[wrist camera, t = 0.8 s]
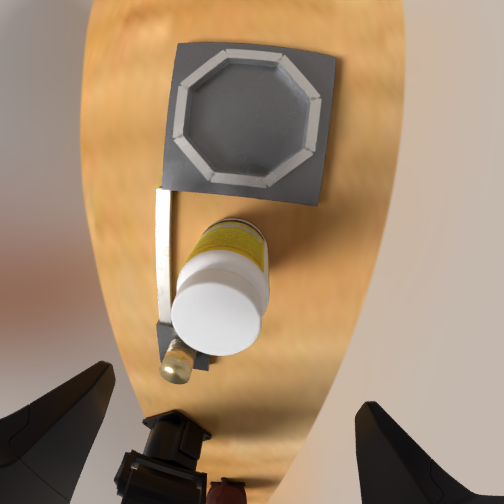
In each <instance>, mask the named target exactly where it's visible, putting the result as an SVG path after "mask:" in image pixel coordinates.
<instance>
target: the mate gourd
mask: <svg viewBox="0 0 504 504" xmlns="http://www.w3.org/2000/svg"><path fill="white" fill-rule="evenodd" d="M221 480H222V482H211V483H210V484H211V485H212V486H211V488H210V490H209V492H208V494H207V497H206V504H247V499H246V492H245V489H244V486H246V485H245V483H233V482H229V481H228V480H227V479H226V478H221Z"/></svg>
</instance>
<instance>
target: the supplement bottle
mask: <svg viewBox="0 0 504 504" xmlns="http://www.w3.org/2000/svg"><path fill="white" fill-rule="evenodd" d="M269 293H270V288H269V263H268V247H267V243H266V240H265V238H264V236H263V235H262V233H261V232H260V231H259V230H258V229H257V228H256V227H255V226H254V225H253V224H251V223H249V222H247V221H245V220H242V219H236V218H229V219H223V220H220V221H218V222H216V223H214V224H213V225H211V226H210V227H209V228H208V229H207V230H206V231H205V232H204V233H203V235H202V237H201V239H200V240H199V242H198V243H197V245H196V247H195V248H194V250H193V251H192V253H191V255H190V256H189V258H188V260H187V261H186V263H185V264H184V266H183V268H182V270H181V272H180V274H179V277H178V281H177V294H176V297H175V299H174V302H173V305H172V309H171V320H172V324H173V326H174V329H175V331H176V332H177V334H178V336H179V337H180V338H181V339H182V340H183V341H184V342H185V343H186V344H188V345H189V346H190V347H192V348H194V349H196V350H198V351H200V352H202V353H206V354H210V355H217V356H226V355H232V354H236V353H239V352H241V351H243V350H245V349H246V348H248V347H249V346H250V345H251V344H253V343H254V341H255V340H256V338H257V337H258V335H259V333H260V329H261V322H262V316H263V314H264V313H265V311H266V308H267V306H268V302H269Z"/></svg>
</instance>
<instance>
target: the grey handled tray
mask: <svg viewBox="0 0 504 504" xmlns="http://www.w3.org/2000/svg"><path fill="white" fill-rule="evenodd" d="M335 67H336V57H333V56H329V55H324V54H319V53H314V52H309V51H303V50H297V49H291V48H284V47H276V46H267V45H256V44H243V43H214V42H204V43H178V45H177V51H176V57H175V63H174V69H173V76H172V82H171V90H170V97H169V105H168V114H167V124H166V134H165V146H164V160H163V177H162V187H159V188H157V190H156V268H157V290H158V306H159V321H158V323H157V325H156V326H157V336H158V345H159V353H160V361H161V363H162V364H161V366H160V374H161V376H162V377H163V378H164V379H165V380H167V381H169V382H171V383H174V384H185V383H187V382H188V381H189V379H190V375H191V372H192V368H193V369H199V370H205V371H209V366H210V354H206V353H202V352H200V351H198V350H196V349H194V348H192V347H190V346H189V345H188V344H186V343H185V342H184V341H183V340H182V339H181V338H180V337H179V336H178V334H177V332H176V331H175V329H174V326H173V324H172V320H171V309H172V281H171V226H172V195H173V191H186V192H198V193H209V194H219V195H229V196H239V197H248V198H256V199H265V200H273V201H281V202H288V203H295V204H303V205H310V206H316V207H317V206H318V200H319V194H320V188H321V182H322V175H323V169H324V162H325V155H326V148H327V140H328V133H329V125H330V116H331V108H332V98H333V89H334V78H335Z"/></svg>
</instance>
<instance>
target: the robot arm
mask: <svg viewBox="0 0 504 504" xmlns="http://www.w3.org/2000/svg"><path fill="white" fill-rule="evenodd" d="M114 386H115V374H114V370H113V366H112V364H111V363H108V362H105V361H99V362H98V363H96V364H94V365H93V366H91V367H90V368H88V369H86V370H85V371H83V372H81V373H80V374H78V375H76V376H75V377H73V378H71V379H70V380H68V381H67V382H65V383H63V384H62V385H60V386H58V387H57V388H55V389H53V390H52V391H50V392H48V393H47V394H45V395H43V396H42V397H40V398H38V399H37V400H35V401H33V402H32V403H30V405H27V406H25V407H23V408H21V409H20V410H18V411H16V412H14V413H12V414H10V415H8V416H6V417H4V418H2V419H0V504H70V501H71V498H72V495H73V493H74V490H75V487H76V485H77V482H78V479H79V477H80V474H81V472H82V469H83V466H84V464H85V461H86V459H87V457H88V454H89V452H90V449H91V447H92V445H93V443H94V440H95V438H96V436H97V433H98V431H99V429H100V426H101V424H102V422H103V419H104V417H105V414H106V410H107V407H108V404H109V401H110V398H111V395H112V392H113V389H114ZM142 423H143V424H144V425H146V426H147V427H148V428H150V429H151V431H150V434H149V437H148V440H147V443H146V446H145V450H144V452H143V454H140V453H138V452H136V451H134V450H132V451H131V453H128V452H125V455H124V458H123V461H122V463H121V465H120V468H119V469H118V472H117V474H116V476H115V478H114V482H115V484H116V485H117V489H118V491H117V495H119V496H121V497H123V498H122V502H121V504H206V488H207V473H203V472H202V473H201V472H197V471H196V466H197V461H198V460H199V458H200V453H201V448H202V442H203V441H206V440H210V439H211V438H212V435H211V434H209V433H208V432H206V431H205V430H203V429H202V428H200V427H199V426H197V425H196V424H194V423H193V422H191V421H190V420H189V419H187V418H186V417H184V416H183V415H182V414H180V413H179V412H177V411H170V412H167V413H164V414H160V415H157V416H153V417H150V418H146V419H143V422H142ZM355 437H356V456H357V464H358V472H359V480H360V488H361V497H362V504H504V496H488V495H479V494H475V493H473V492H471V491H470V490H468V489H467V488H465V487H464V486H463V485H462V484H460V483H459V482H458V481H456V480H455V479H454V478H453V477H451V476H450V475H449V474H448V473H447V472H445V471H444V470H443V469H442V468H441V467H440V466H439V465H438V464H437V463H436V462H435V461H434V460H433V459H431V457H430V456H429V455H428V454H427V453H426V452H425V451H424V450H423V449H422V448H421V447H420V446H419V445H418V444H417V443H416V442H415V441H414V440H413V439H412V438H411V437H410V436H409V435H408V434H407V433H406V432H405V431H404V430H403V429H402V428H401V427H400V426H399V425H398V424H397V423H396V422H395V421H394V420H393V419H392V418H391V417H390V416H389V415H388V414H387V412H385V410H384V409H383V408H382V407H381V406H380V405H379V404H378V403H377V402H375V401H371V402H370V401H367V402H365V403H364V404H363V405H362V407H361V408H360V409H359V411H358V412H357V414H356V416H355ZM133 467H134V468H137V470H136V469H133Z"/></svg>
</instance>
